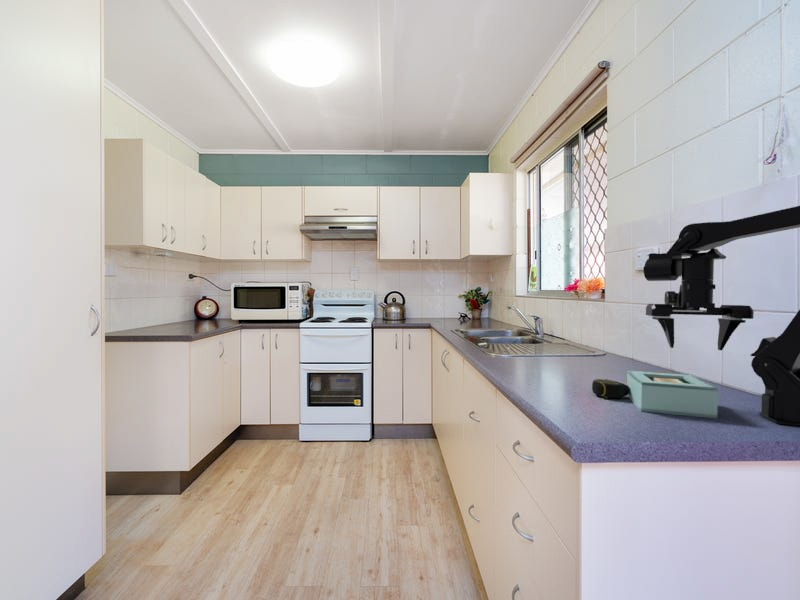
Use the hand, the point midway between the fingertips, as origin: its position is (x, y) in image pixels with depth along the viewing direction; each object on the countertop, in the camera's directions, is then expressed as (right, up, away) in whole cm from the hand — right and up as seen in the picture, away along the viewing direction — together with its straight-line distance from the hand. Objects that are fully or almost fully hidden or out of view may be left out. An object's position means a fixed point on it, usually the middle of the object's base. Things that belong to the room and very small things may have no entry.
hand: (695, 348), depth 88 cm
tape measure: (-17, -12, +5) cm, 22 cm away
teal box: (-9, -12, -4) cm, 15 cm away
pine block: (-9, -11, -4) cm, 15 cm away
